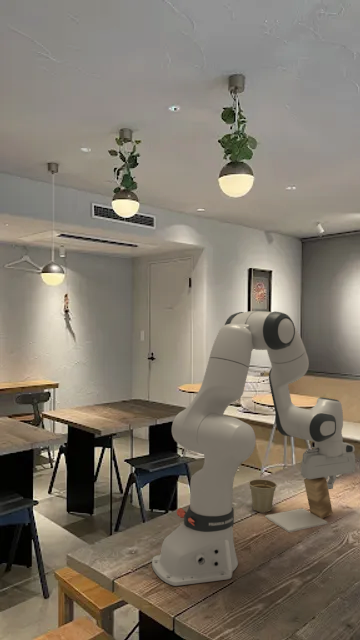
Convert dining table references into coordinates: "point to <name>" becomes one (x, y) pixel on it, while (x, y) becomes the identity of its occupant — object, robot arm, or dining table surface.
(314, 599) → the dining table surface
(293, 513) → the white board
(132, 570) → the dining table surface
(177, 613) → the dining table surface
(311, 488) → the oak block
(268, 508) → the flower pot
